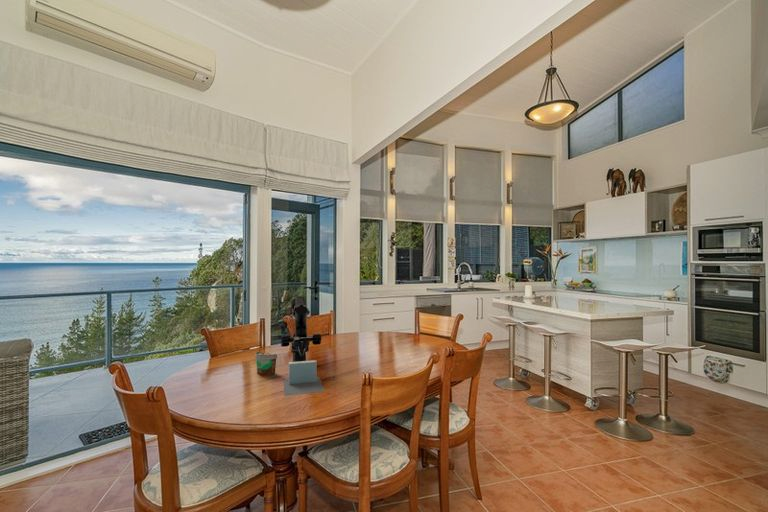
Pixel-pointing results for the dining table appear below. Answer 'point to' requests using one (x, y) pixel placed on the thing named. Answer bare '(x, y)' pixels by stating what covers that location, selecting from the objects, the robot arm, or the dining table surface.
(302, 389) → the mat
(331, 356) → the dining table surface
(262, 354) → the food container
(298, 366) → the tile
